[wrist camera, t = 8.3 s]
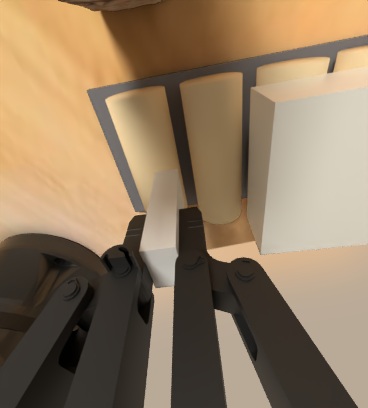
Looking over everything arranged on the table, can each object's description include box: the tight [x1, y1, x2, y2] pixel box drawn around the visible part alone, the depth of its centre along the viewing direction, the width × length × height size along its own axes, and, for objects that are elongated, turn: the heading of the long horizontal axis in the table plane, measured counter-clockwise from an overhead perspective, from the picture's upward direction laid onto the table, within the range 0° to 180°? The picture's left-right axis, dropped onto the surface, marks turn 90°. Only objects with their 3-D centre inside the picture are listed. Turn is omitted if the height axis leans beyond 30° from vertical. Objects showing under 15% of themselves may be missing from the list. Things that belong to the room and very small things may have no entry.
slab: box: [247, 66, 368, 255], centre depth 12 cm, size 12×10×4 cm
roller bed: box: [87, 35, 368, 224], centre depth 16 cm, size 27×12×5 cm, turn 99°
